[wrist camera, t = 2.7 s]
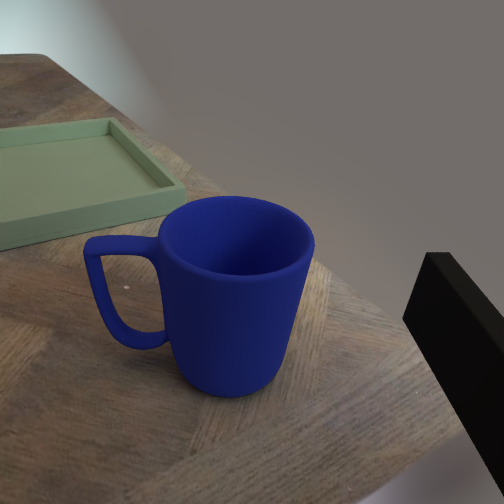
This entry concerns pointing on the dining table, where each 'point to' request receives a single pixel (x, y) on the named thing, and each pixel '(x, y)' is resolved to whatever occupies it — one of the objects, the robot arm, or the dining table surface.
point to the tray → (78, 181)
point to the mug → (217, 288)
